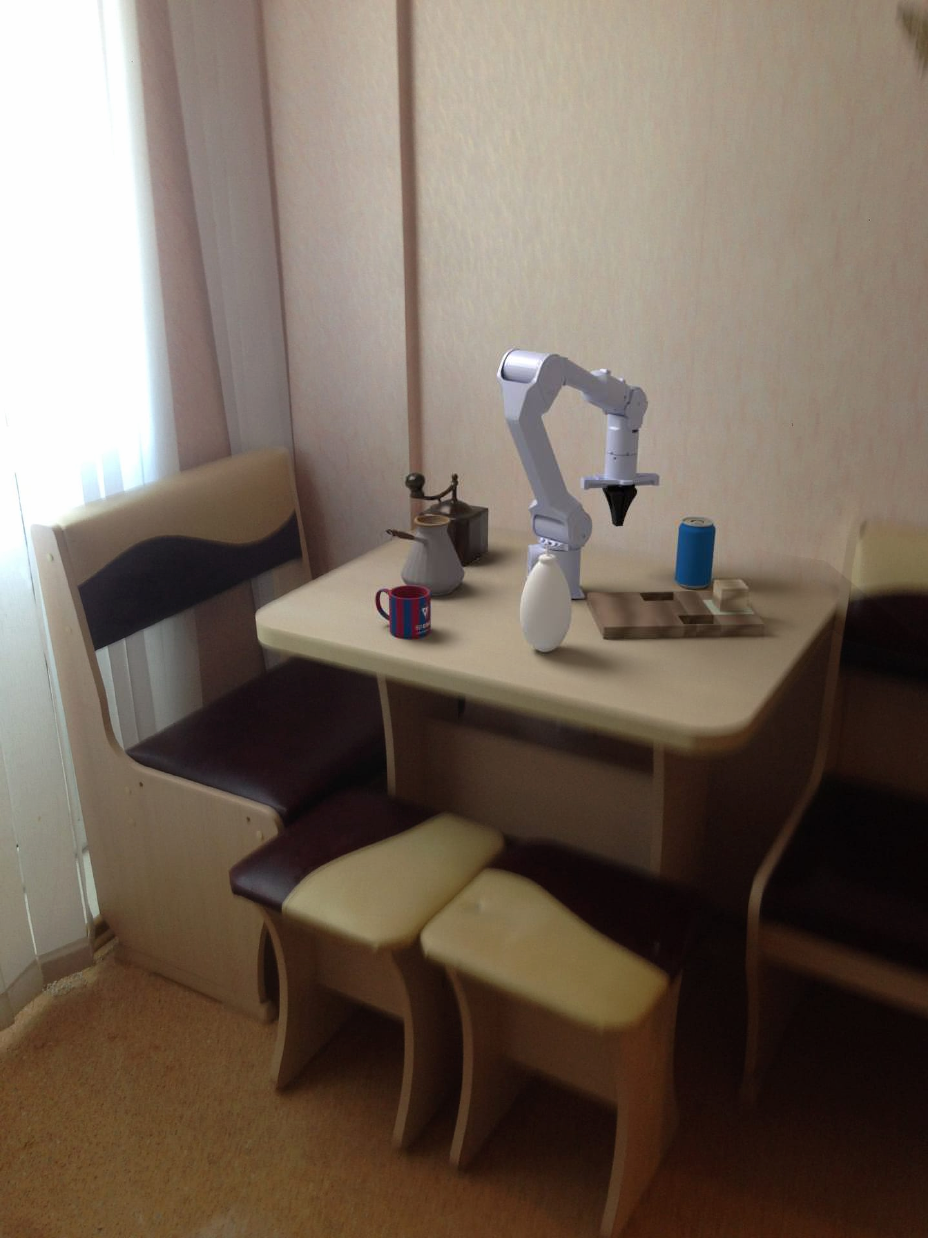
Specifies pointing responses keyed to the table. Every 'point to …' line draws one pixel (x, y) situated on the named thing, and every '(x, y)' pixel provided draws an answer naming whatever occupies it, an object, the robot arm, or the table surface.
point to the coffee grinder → (456, 518)
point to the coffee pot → (431, 556)
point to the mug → (407, 611)
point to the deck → (668, 615)
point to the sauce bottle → (546, 604)
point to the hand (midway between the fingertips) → (617, 524)
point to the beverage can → (695, 552)
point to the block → (730, 595)
